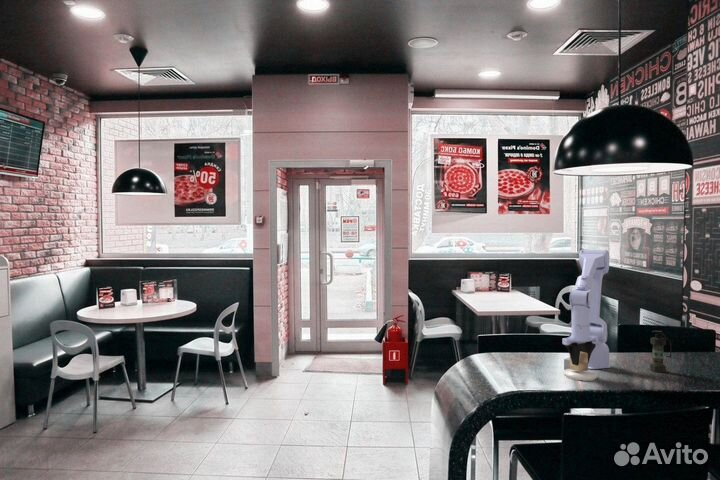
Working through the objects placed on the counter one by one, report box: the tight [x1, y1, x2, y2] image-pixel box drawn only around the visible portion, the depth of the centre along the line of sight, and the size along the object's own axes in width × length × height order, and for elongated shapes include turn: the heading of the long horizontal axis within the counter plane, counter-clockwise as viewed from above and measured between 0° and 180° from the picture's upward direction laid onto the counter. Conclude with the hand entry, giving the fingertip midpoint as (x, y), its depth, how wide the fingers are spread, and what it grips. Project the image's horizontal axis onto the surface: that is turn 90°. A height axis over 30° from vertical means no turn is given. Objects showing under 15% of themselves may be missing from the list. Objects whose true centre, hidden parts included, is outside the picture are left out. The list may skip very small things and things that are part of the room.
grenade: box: [649, 329, 672, 373], centre depth 173 cm, size 6×6×15 cm
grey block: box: [563, 357, 570, 371], centre depth 174 cm, size 4×4×4 cm
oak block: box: [569, 351, 589, 372], centre depth 165 cm, size 4×4×6 cm
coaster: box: [563, 369, 597, 382], centre depth 165 cm, size 10×10×2 cm
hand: (580, 364), depth 165 cm, fingers closed on oak block, 4 cm apart
